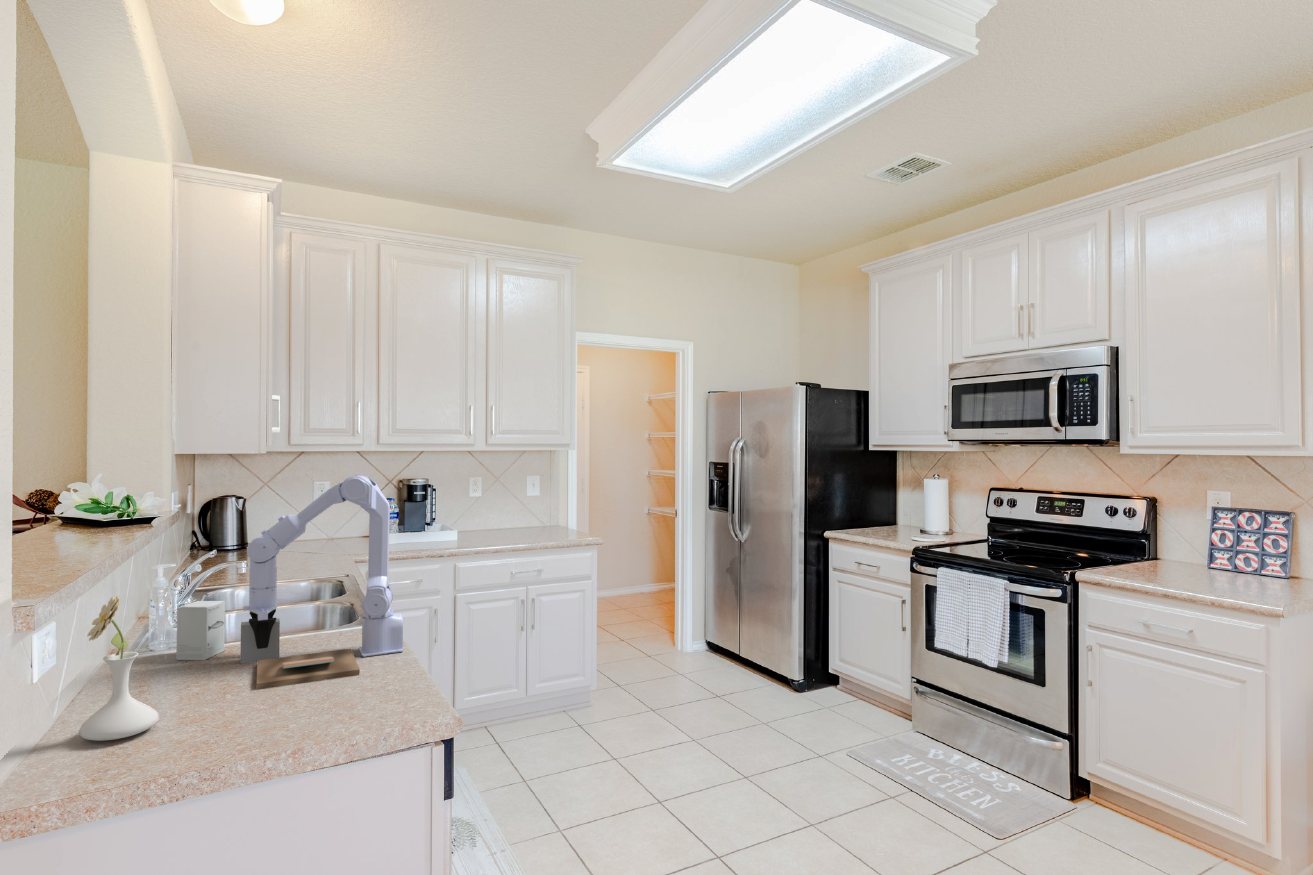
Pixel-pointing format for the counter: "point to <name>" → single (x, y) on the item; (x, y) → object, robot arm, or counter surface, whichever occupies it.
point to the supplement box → (200, 630)
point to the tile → (308, 662)
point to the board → (305, 669)
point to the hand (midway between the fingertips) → (262, 643)
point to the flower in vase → (117, 690)
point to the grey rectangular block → (250, 649)
